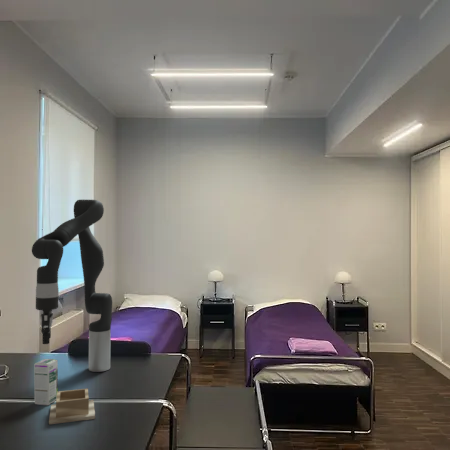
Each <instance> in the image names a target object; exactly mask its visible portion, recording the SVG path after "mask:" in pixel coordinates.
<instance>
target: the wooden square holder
mask: <svg viewBox="0 0 450 450" xmlns="http://www.w3.org/2000/svg"><path fill="white" fill-rule="evenodd" d="M89 399H90V397H89V388H88V387H87V388H80V389H79V388H77V389H69V390H59V391H57V399H56V401H55V404H54V403H53V404H50V411H49V418H48V425H54V424H55V425H56V424H62V423H63V424H65V423H71V422H80V421H89V420H95V419H96V411H95V401H94V399H91V400H89Z"/></svg>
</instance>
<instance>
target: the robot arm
mask: <svg viewBox="0 0 450 450" xmlns="http://www.w3.org/2000/svg"><path fill="white" fill-rule="evenodd" d="M104 212H105V208H104V204H103V203H102V202H101V200H98V199H77V200H75V202H74V205H73V218H71V219H68V220H66V221H64V222H63V223H60V225H59V226H57V227H56V228H55V229H54V230H53V231H51V232H49V233H47V234H45V235H42V236H41V237H39V238H38V239H37V240H35V241H34V243H33V244H32V246H31V254H32V256H33V257H34V258H35V259H38V260H47V263H46V265H42V266H38V267H37V270H36V286H35V309H36V310H37V311H42V313H41V315H40V328H41V334H42V340H41V341H42V344H43V345H48V344H49V345H50V339H51V335H52V333H51V332H52V331H51V330H52V329H51V328H52V325H53V320H54V319H53V318H54V313H52V311H53V310H57V309H58V308H59V268H60V265H61V261H62V258H63V255H64V247H66V246H67V245H68V244H69V243H70V242H71V241H73V240H74V238H76V237H77V236H78V242H79V243H78V244H79V250H80V260H81V261H80V262H81V267H82V272H83V273H82V274H83V275H82V276H83V289H84V306H85V307H84V308H85V311H86V312H87V313H88V314H91V315H100V318H99V319H98V320H95V321H92V322H90V323H89V325H88V371H89V372H93V373H94V372H95V373H97V372H98V373H101V372H105V371H108V370H110V369H111V341H112V340H111V339H112V337H111V335H112V334H111V326H112V318H113V317H112V314H113V297H112V295H111V293H110V294H109V293H108V292H107V293H106V292H103V293H102V292H96V283H97V280H98V278H99V276H100V274H101V273H102V271H103V269H104V266H105V259H104V251H103V248H102V246H101V245H100V243H99V242H98V240H97V239H96V237H95V236H94V234H93V233H92V231H91V228H90V227H91V226H92V225H94V224H95V223H98V222H99V221H100V220H101V219H102V218H103V216H104Z"/></svg>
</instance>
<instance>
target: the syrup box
mask: <svg viewBox="0 0 450 450" xmlns="http://www.w3.org/2000/svg"><path fill="white" fill-rule="evenodd" d="M58 364H59V363H58V359H54V358H43V359H42V360H39V361H38V362H35V363H34V365H33V366H34V368H33V370H34V371H33V372H34V374H33V375H34V377H33V378H34V380H33V381H34V404H35V405H40V406H51V405H52V403H53V404H54V403H55V402H56V399H57V391H58V390H59V388H58V387H59V386H58V385H59V384H58V383H59V382H58V381H59V379H58V378H59V376H58V371H59V369H58V367H59V365H58Z"/></svg>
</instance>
